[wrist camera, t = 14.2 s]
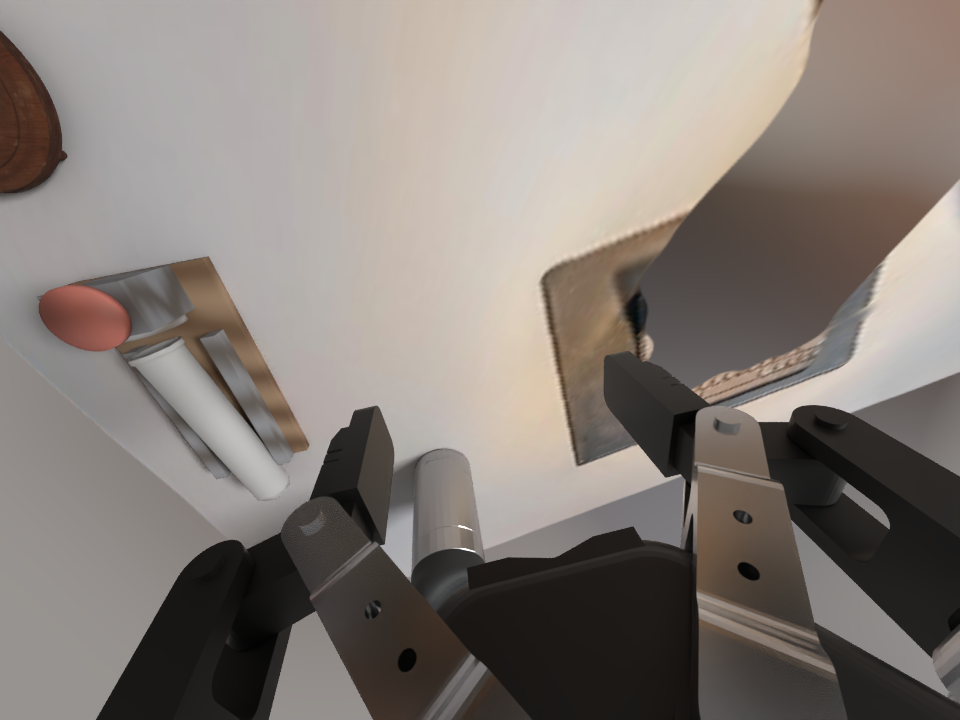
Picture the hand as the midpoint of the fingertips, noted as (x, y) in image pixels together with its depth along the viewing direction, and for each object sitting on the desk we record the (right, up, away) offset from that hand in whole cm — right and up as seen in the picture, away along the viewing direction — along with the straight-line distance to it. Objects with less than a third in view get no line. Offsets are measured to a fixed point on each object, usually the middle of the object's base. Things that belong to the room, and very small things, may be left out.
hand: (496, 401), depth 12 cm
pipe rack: (-35, -1, +32) cm, 48 cm away
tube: (-34, -6, +34) cm, 49 cm away
